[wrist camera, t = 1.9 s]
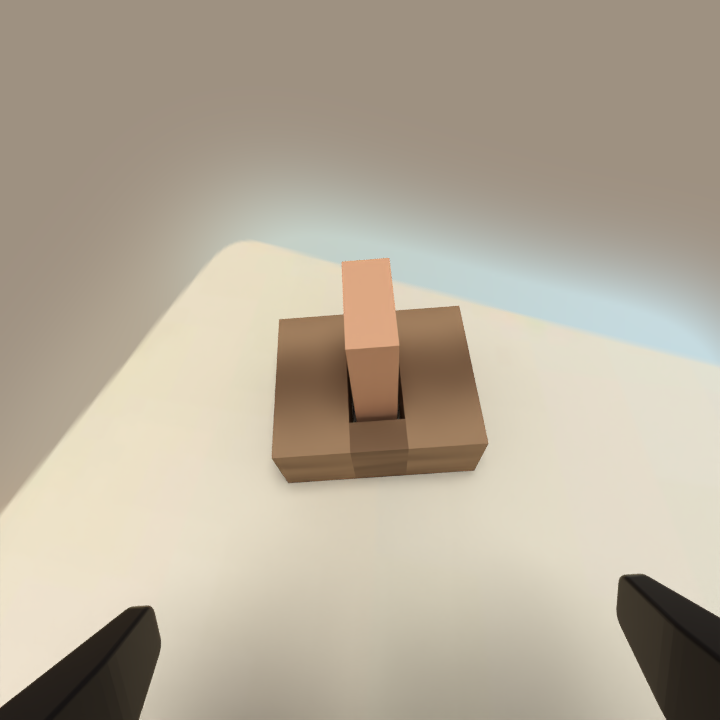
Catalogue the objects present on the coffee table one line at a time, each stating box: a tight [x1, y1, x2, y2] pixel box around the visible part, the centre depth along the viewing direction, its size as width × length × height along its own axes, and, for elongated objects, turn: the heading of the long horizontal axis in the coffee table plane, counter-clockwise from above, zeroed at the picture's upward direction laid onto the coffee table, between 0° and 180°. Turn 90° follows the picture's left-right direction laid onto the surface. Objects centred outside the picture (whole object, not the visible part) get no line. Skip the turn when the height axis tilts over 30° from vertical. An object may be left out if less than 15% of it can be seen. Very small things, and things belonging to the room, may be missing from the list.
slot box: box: [272, 306, 488, 483], centre depth 24 cm, size 8×10×4 cm
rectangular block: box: [342, 258, 399, 422], centre depth 22 cm, size 4×2×10 cm, turn 3°
